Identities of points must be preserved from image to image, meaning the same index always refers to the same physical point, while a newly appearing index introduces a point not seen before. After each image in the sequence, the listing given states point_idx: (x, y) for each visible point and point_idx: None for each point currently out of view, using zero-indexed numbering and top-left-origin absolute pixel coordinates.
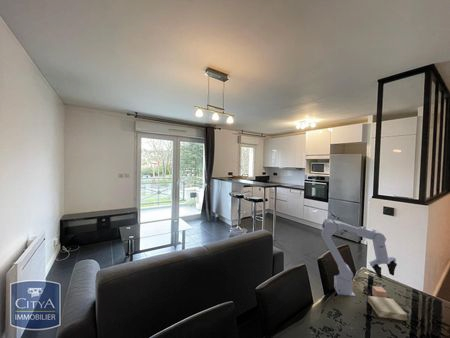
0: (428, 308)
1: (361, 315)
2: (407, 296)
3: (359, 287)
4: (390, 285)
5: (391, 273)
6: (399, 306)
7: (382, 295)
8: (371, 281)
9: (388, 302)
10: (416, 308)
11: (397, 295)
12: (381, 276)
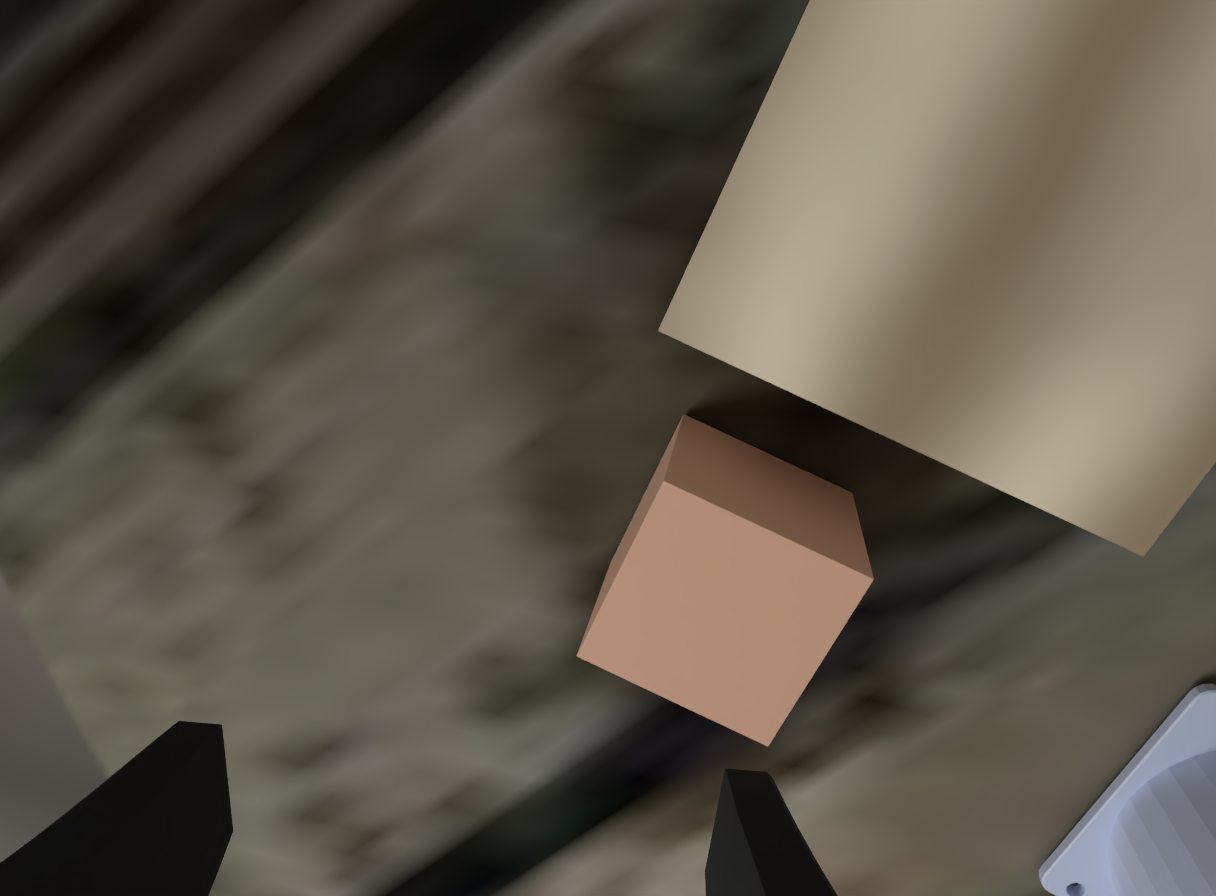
0: (89, 66)
1: None
2: (162, 427)
3: None
4: None
5: (198, 815)
6: (789, 55)
7: (752, 486)
8: (413, 889)
9: (903, 240)
10: (312, 111)
11: (314, 492)
12: (754, 816)
